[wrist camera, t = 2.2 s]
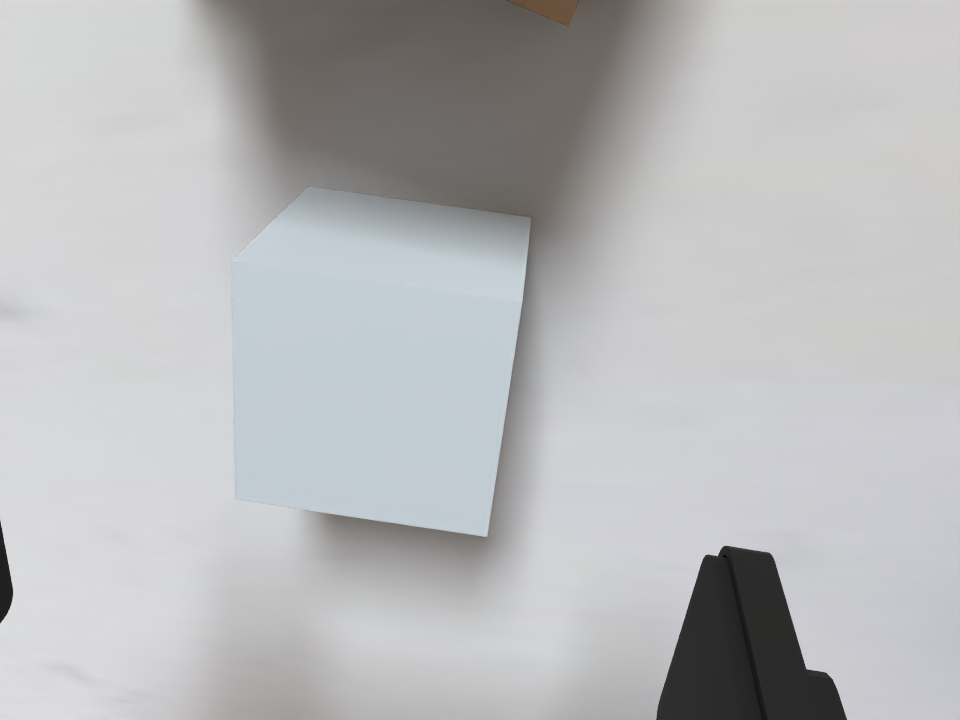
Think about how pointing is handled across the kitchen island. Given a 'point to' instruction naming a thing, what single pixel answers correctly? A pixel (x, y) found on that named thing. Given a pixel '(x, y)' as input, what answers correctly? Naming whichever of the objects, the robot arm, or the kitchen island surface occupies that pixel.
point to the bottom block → (551, 8)
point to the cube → (376, 358)
